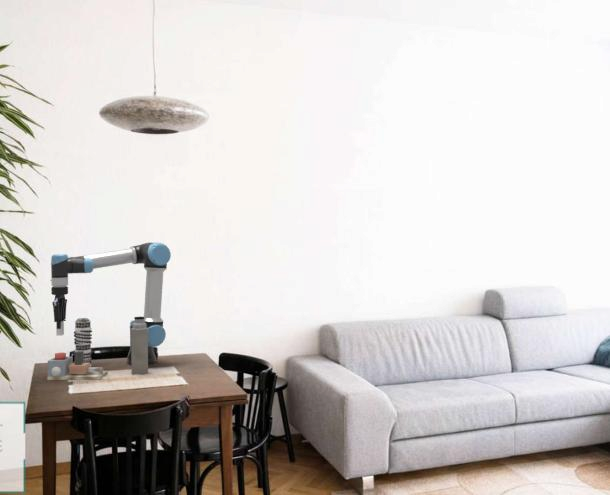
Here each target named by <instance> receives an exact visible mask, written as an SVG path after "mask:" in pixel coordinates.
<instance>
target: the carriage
mask: <svg viewBox="0 0 610 495" xmlns="http://www.w3.org/2000/svg"><path fill="white" fill-rule="evenodd" d="M74 360H75V361H74V362H73V363H72V364H70V365H69V366H68V369H69V374H86V373H87V367H89V366H90V363H84V358H83V351H77V352H75V351H74ZM90 367H91V366H90Z"/></svg>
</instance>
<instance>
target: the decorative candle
mask: <svg viewBox="0 0 610 495" xmlns="http://www.w3.org/2000/svg"><path fill="white" fill-rule="evenodd" d="M91 321H92V320H90V319H89V318H88V317H81V318H80V317H79V318H77V319H76V320H75V321H74V324H75V326H74V332H73V337H74V338H73V340H74V342H73V343H74V345H75V349H74V353H75V352H77V351H83V358H84V363H90V366H89V367H92V364H93V362H92V361H93V359H92V353H93V352H92V348H91V345H92V340H91V339H93V337H92V335H93V334H91V333H92V332H93V330H92V326H91ZM73 360H74V362H75V359H73Z"/></svg>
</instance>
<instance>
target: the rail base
mask: <svg viewBox="0 0 610 495" xmlns="http://www.w3.org/2000/svg"><path fill="white" fill-rule="evenodd" d="M107 374H108V375H109V371H107V370H105V371H104V367H102V366H101V367H100V366H98V367H97V366H95V367H94V366H93V367H92V366H90V367H87V373H86V374H68V375H67V376H65V377H48V376H46V377H47V378H46V379H47V381H87V380H88V381H100V380H102V379H104V378H105V377H107V376H108V375H107ZM103 377H104V378H103Z"/></svg>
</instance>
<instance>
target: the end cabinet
mask: <svg viewBox="0 0 610 495" xmlns="http://www.w3.org/2000/svg"><path fill="white" fill-rule="evenodd" d="M73 360H74V359H73V356H66V359H65V360H55V357H53V358H51V359H49V360H47V377H65V376H67V375H68V374H69V369H68V366H69V365H70V364H72V363H74V362H73Z"/></svg>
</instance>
